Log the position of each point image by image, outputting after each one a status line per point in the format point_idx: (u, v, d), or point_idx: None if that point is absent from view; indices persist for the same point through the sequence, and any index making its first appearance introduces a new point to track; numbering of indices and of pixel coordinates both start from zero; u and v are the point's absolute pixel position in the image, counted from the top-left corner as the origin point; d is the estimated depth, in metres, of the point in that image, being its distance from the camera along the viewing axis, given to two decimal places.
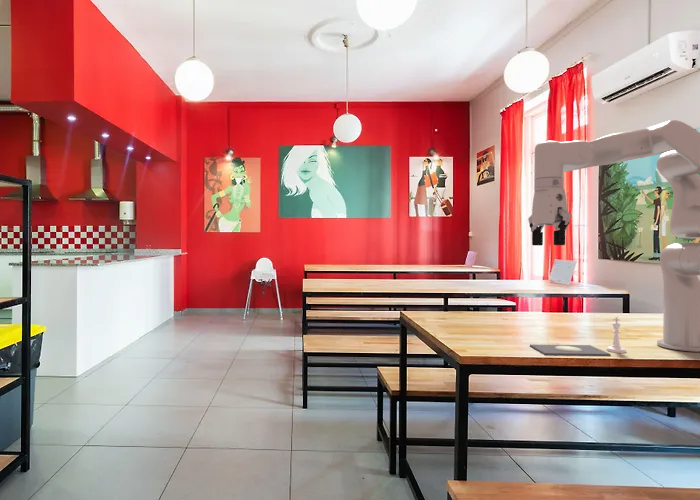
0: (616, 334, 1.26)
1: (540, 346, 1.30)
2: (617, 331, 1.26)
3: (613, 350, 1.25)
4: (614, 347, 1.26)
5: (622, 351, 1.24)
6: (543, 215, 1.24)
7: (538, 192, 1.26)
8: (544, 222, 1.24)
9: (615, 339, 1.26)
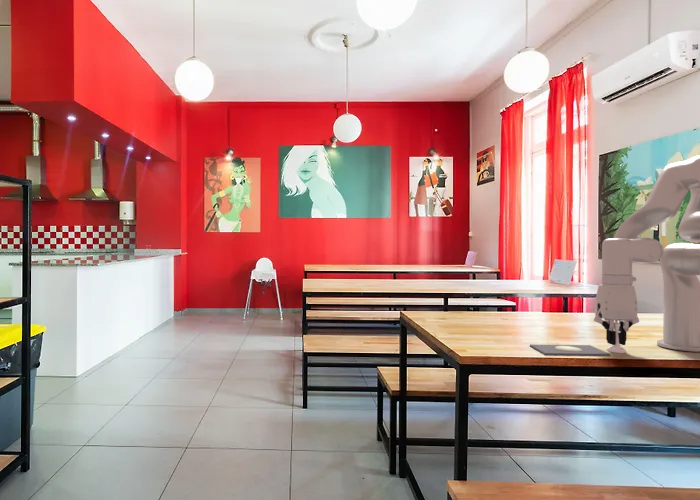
0: (616, 334, 1.26)
1: (540, 346, 1.30)
2: (617, 331, 1.26)
3: (613, 350, 1.25)
4: (614, 347, 1.26)
5: (622, 351, 1.24)
6: (625, 311, 1.24)
7: (618, 288, 1.24)
8: (624, 318, 1.25)
9: None
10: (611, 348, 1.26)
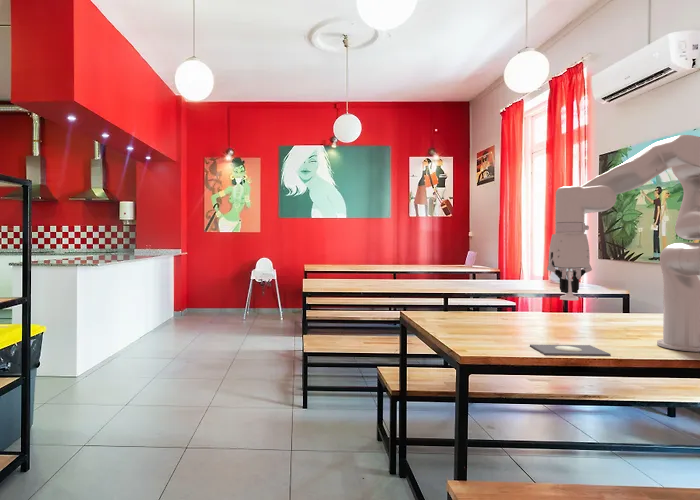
0: (569, 282, 1.26)
1: (540, 346, 1.30)
2: (570, 279, 1.26)
3: (565, 298, 1.25)
4: (567, 295, 1.26)
5: (574, 299, 1.24)
6: (577, 259, 1.24)
7: (570, 235, 1.24)
8: (576, 266, 1.25)
9: (568, 287, 1.26)
10: (564, 296, 1.26)
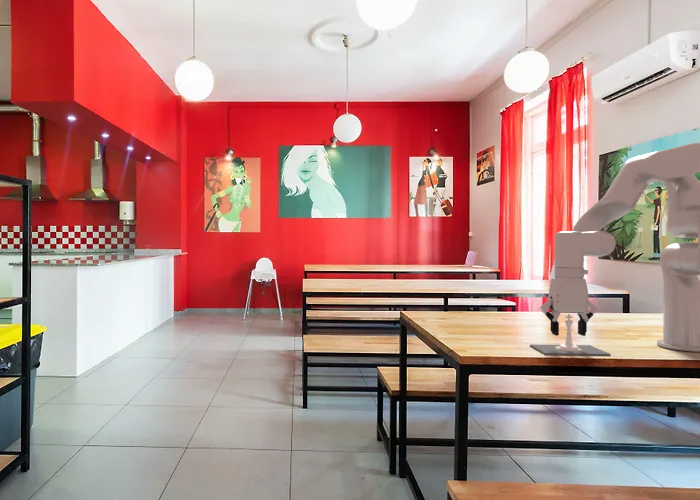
0: (569, 332, 1.26)
1: (540, 346, 1.30)
2: (569, 329, 1.26)
3: (565, 348, 1.25)
4: (566, 345, 1.26)
5: (574, 349, 1.24)
6: (576, 304, 1.24)
7: (569, 280, 1.24)
8: (576, 311, 1.25)
9: (568, 337, 1.26)
10: (563, 346, 1.26)
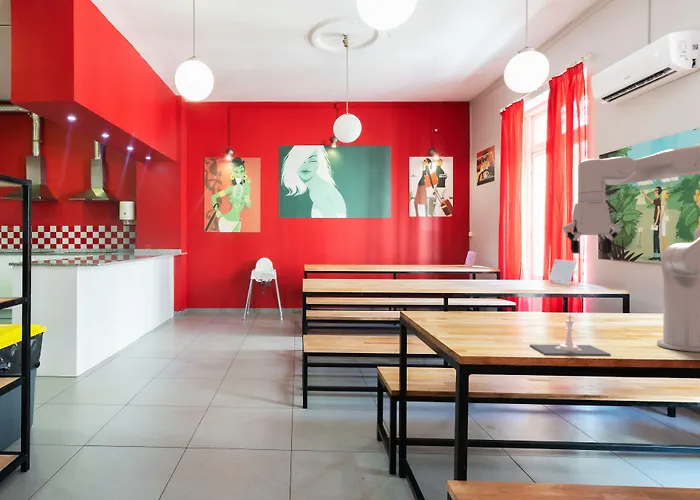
0: (569, 332, 1.26)
1: (540, 346, 1.30)
2: (570, 329, 1.26)
3: (566, 348, 1.25)
4: (567, 345, 1.26)
5: (574, 349, 1.24)
6: (598, 226, 1.35)
7: (592, 204, 1.35)
8: (598, 232, 1.35)
9: (568, 336, 1.26)
10: (564, 346, 1.26)
